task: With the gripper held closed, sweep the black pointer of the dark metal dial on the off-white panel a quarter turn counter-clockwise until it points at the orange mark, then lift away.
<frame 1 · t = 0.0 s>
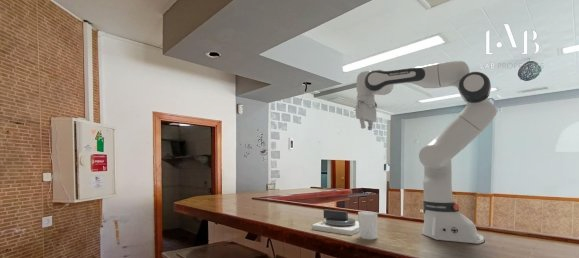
hand: (366, 129, 144), 48 cm above the counter, tool pointing down, fingers open, 8 cm apart
dial panel: (340, 228, 134), on the counter
white cup: (368, 238, 117), on the counter
dial: (338, 216, 135), point 5 cm above the counter, hinge at 0.0°
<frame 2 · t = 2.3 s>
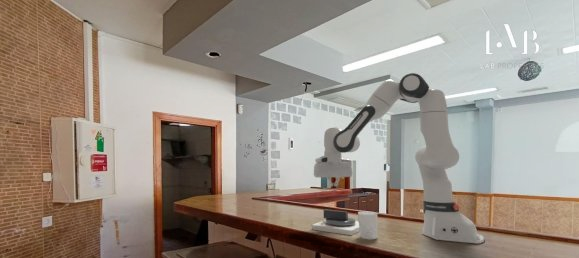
hand: (333, 186, 144), 19 cm above the counter, tool pointing down, fingers closed
nothing on the counter moved.
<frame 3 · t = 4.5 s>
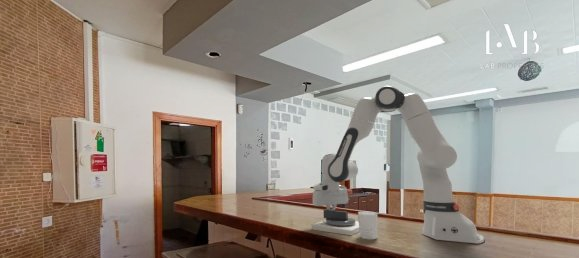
hand: (331, 213, 141), 5 cm above the counter, tool pointing down, fingers closed
dial: (338, 216, 135), point 5 cm above the counter, hinge at 0.0°, touching gripper
everything else where it was.
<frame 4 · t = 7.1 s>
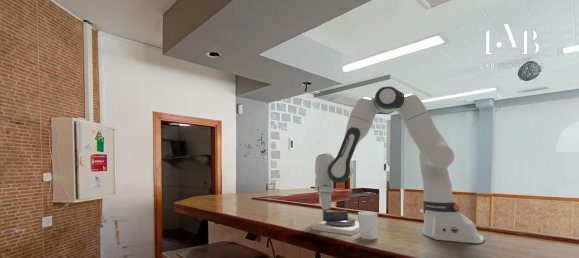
hand: (324, 215, 136), 6 cm above the counter, tool pointing down, fingers closed
dial: (338, 217, 135), point 5 cm above the counter, hinge at 48.4°, touching gripper
everything else where it was.
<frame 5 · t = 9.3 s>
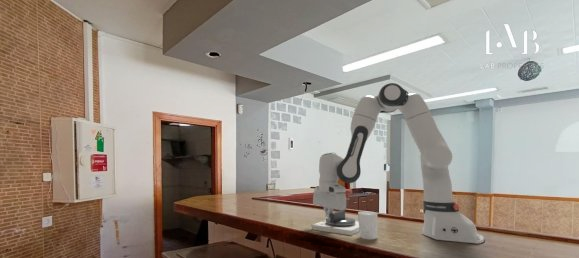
hand: (328, 217, 131), 6 cm above the counter, tool pointing down, fingers closed
dial: (339, 217, 134), point 5 cm above the counter, hinge at 90.5°, touching gripper
everything else where it was.
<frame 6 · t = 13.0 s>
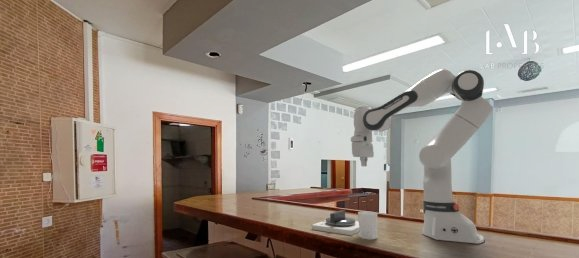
hand: (364, 166, 141), 29 cm above the counter, tool pointing down, fingers closed
dial: (339, 217, 134), point 5 cm above the counter, hinge at 90.6°
everything else where it was.
at the end: dial at +91° (first picture: +0°); white cup moved 0.2 cm from its start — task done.
